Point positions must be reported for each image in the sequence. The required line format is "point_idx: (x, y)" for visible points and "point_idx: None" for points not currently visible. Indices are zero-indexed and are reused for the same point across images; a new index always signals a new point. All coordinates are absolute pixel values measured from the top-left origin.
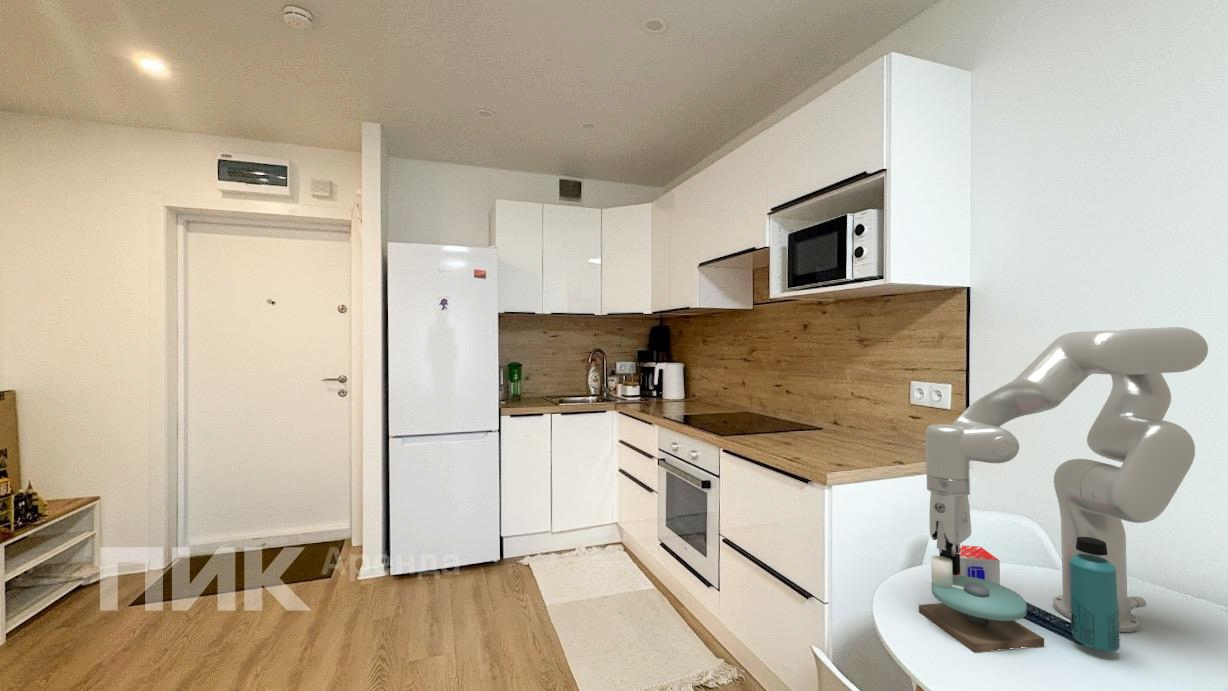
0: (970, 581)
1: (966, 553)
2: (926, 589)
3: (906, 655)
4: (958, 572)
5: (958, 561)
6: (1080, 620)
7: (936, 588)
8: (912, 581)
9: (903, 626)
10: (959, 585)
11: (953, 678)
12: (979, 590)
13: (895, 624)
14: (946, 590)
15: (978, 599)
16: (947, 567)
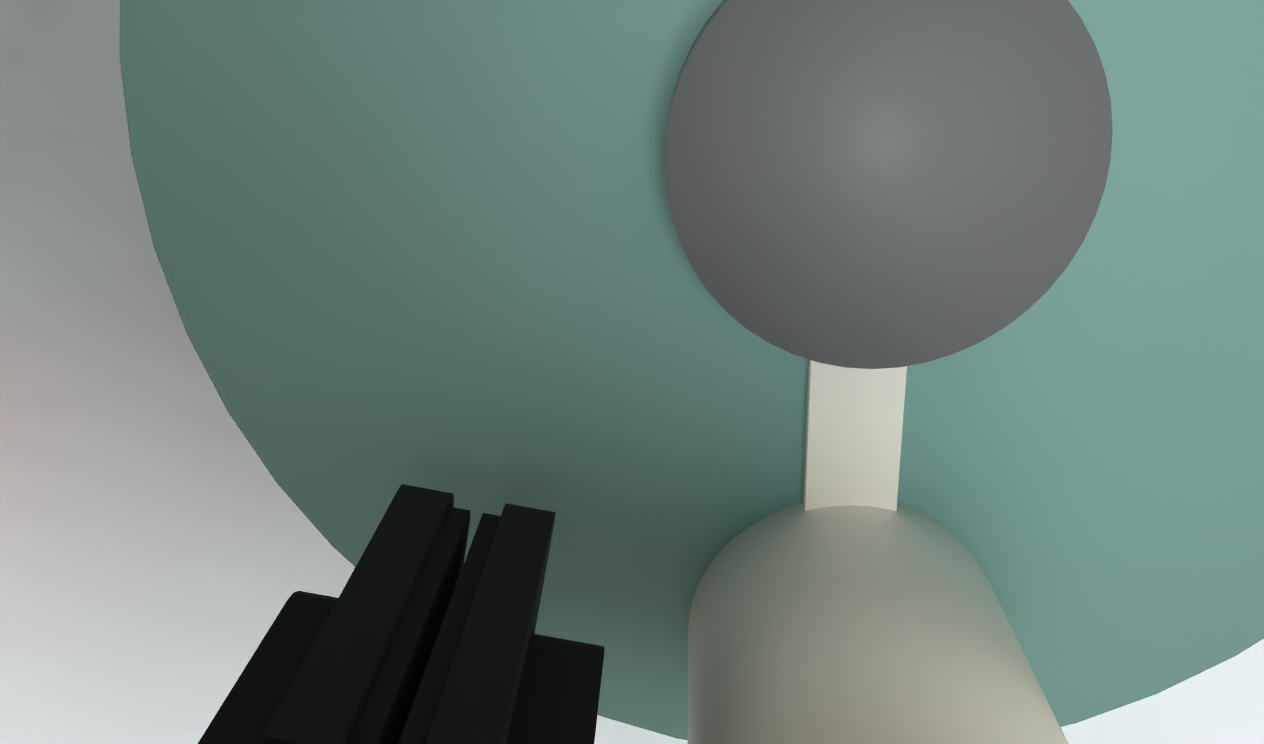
0: (399, 276)
1: None
2: (162, 611)
3: None
4: (509, 516)
5: (392, 643)
6: None
7: (1090, 682)
8: (71, 738)
9: (1201, 678)
10: (731, 415)
11: None
12: (1024, 101)
13: (1198, 736)
14: (1079, 560)
15: (1204, 93)
16: None
